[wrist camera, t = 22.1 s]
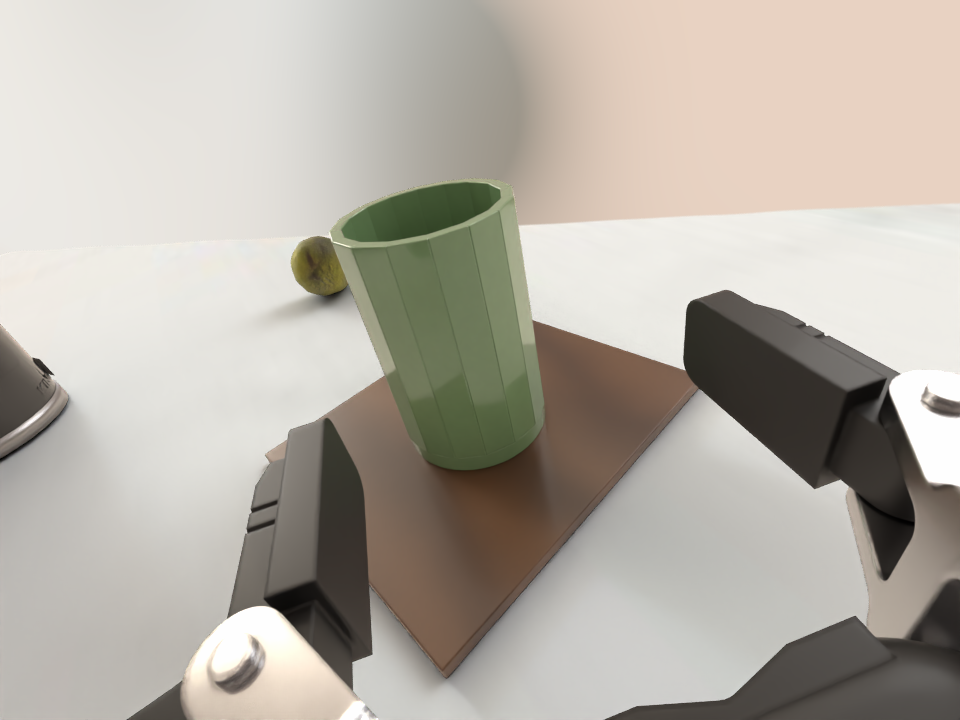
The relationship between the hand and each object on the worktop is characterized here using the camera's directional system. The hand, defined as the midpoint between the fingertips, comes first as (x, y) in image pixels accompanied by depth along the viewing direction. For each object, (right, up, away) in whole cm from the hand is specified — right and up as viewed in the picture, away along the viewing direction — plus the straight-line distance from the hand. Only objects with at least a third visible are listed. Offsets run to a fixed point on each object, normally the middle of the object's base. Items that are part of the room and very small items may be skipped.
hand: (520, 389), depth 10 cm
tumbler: (-1, -2, +12) cm, 12 cm away
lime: (-13, +6, +29) cm, 32 cm away
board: (-1, -2, +12) cm, 12 cm away
